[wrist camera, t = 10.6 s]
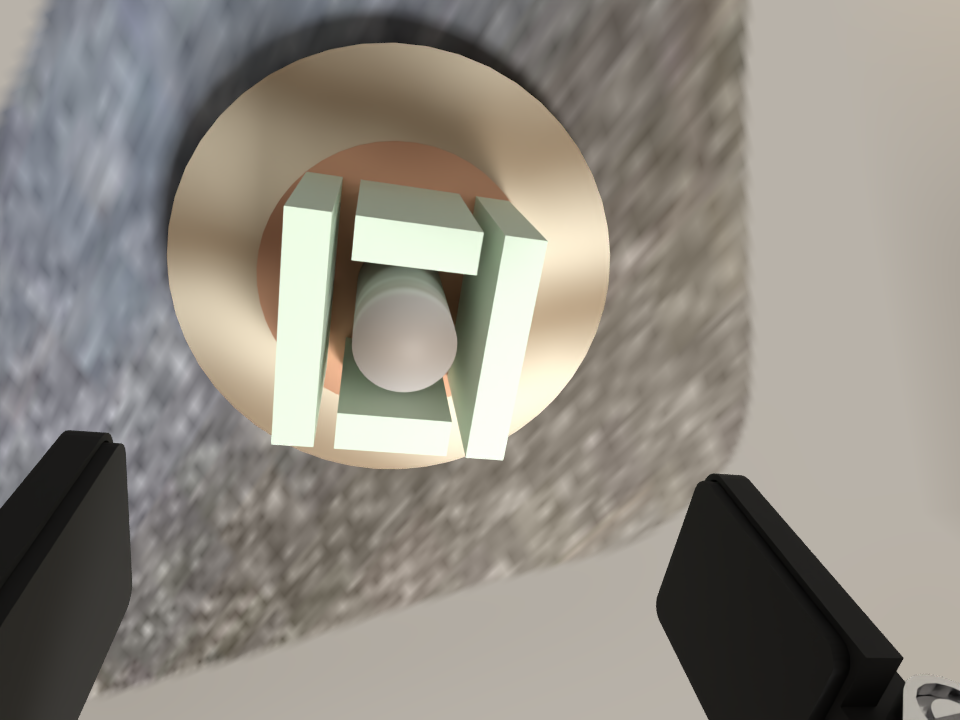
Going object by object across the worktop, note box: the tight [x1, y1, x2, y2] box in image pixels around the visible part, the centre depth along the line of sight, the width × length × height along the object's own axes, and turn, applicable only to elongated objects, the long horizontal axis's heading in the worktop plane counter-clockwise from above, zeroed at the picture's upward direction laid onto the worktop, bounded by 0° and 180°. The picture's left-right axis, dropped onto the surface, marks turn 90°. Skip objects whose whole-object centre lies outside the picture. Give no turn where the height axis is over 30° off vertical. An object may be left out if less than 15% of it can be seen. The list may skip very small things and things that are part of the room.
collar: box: [271, 172, 548, 460], centre depth 22 cm, size 7×7×6 cm
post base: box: [167, 43, 610, 469], centre depth 23 cm, size 16×16×8 cm
